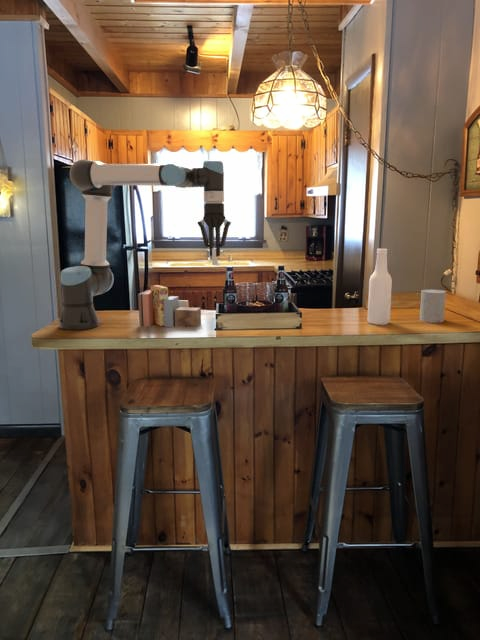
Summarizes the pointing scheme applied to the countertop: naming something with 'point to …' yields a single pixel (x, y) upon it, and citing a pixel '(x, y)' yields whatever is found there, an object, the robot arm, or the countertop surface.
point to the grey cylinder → (432, 305)
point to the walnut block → (187, 317)
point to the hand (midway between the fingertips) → (215, 264)
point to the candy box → (159, 303)
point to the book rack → (181, 304)
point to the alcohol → (380, 291)
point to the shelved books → (169, 309)
